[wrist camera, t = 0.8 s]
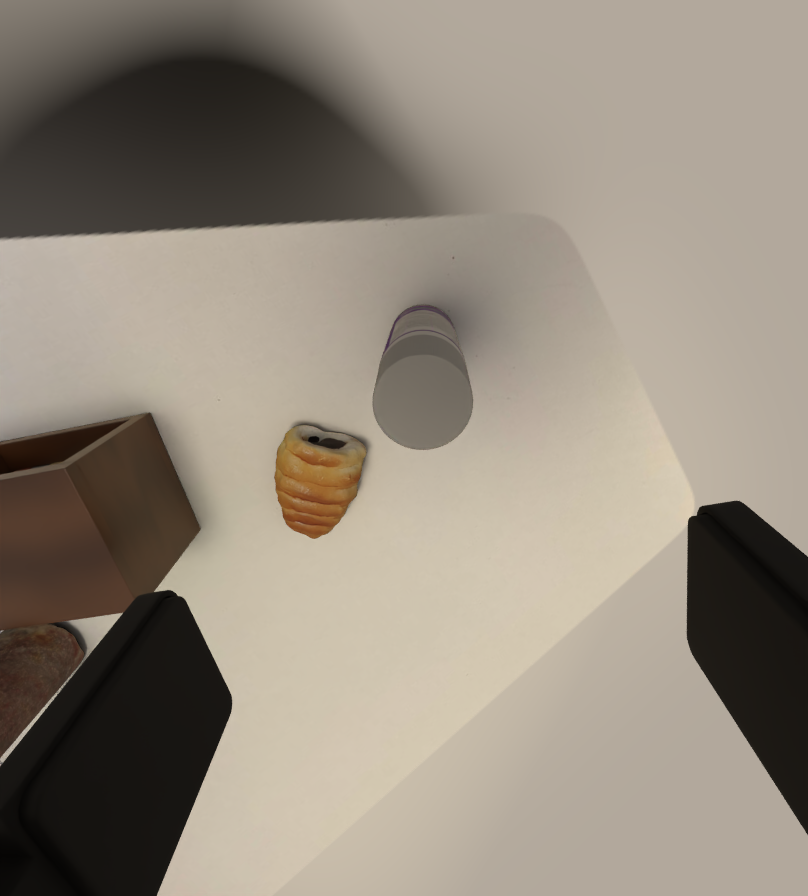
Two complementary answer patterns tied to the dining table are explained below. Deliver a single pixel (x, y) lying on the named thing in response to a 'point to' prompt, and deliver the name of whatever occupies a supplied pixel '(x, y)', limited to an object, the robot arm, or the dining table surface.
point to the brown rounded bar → (32, 674)
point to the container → (422, 381)
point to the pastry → (317, 478)
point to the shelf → (87, 521)
